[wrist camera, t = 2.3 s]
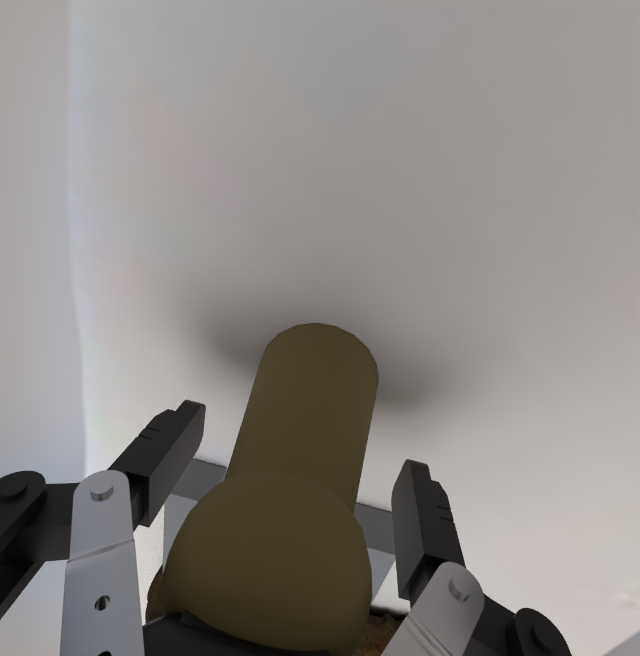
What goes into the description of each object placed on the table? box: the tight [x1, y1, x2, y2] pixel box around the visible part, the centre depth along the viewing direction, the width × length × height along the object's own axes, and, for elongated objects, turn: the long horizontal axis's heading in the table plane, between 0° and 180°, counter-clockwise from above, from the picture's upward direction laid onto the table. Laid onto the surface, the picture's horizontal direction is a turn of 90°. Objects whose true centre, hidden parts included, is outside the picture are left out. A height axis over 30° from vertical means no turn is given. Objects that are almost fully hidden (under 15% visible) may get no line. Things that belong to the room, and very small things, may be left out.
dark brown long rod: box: [145, 565, 405, 656], centre depth 23 cm, size 19×4×5 cm, turn 76°
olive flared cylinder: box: [162, 323, 379, 656], centre depth 12 cm, size 6×6×11 cm
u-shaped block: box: [163, 459, 396, 604], centre depth 21 cm, size 8×13×2 cm, turn 78°
